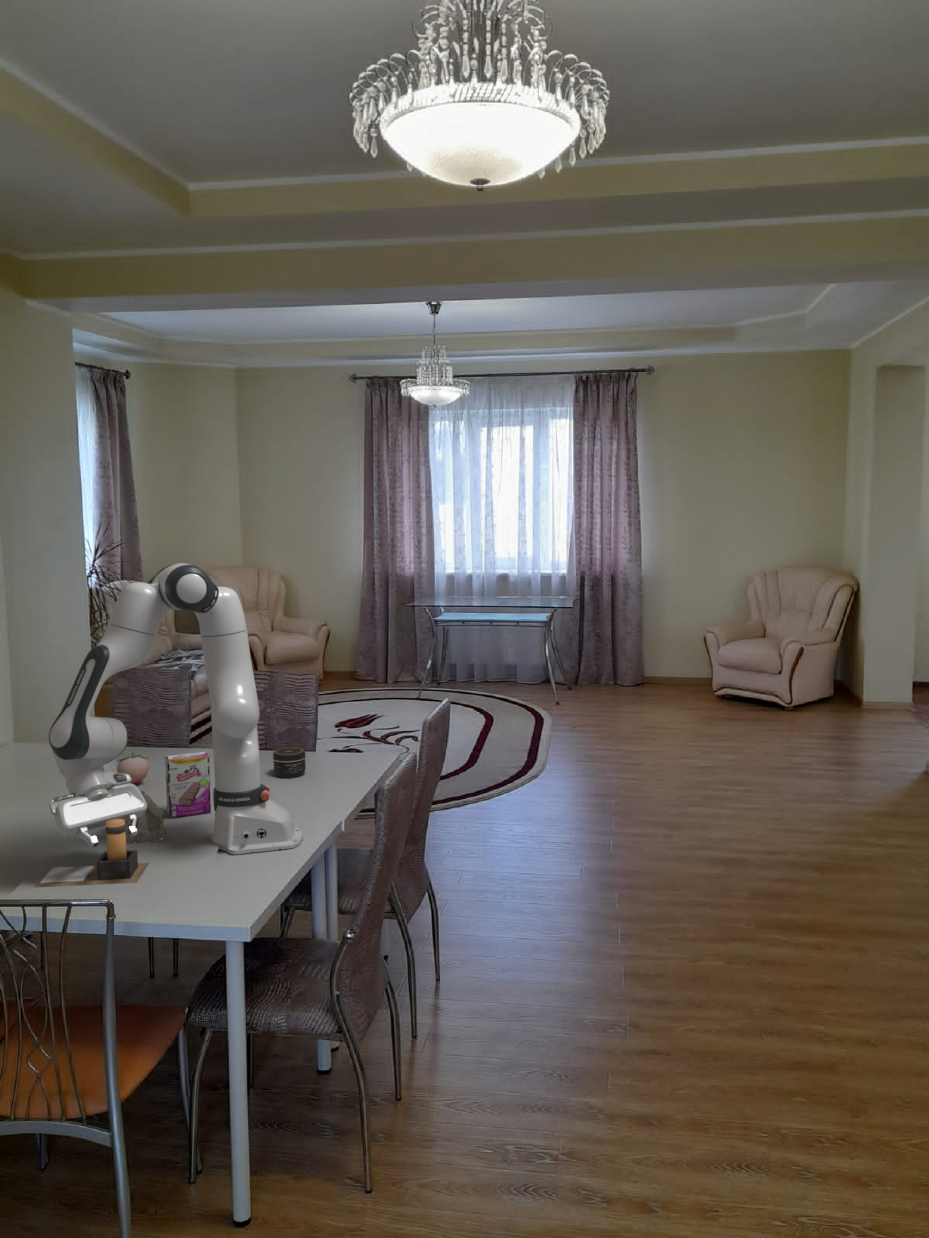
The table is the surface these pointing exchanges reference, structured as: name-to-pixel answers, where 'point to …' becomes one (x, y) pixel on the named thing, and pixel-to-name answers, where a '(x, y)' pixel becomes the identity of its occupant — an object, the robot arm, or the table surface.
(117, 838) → the orange cylindrical peg
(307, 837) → the table surface
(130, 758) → the decorative fruit
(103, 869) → the board with square socket
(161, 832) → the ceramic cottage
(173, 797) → the candy bar box
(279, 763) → the jar
